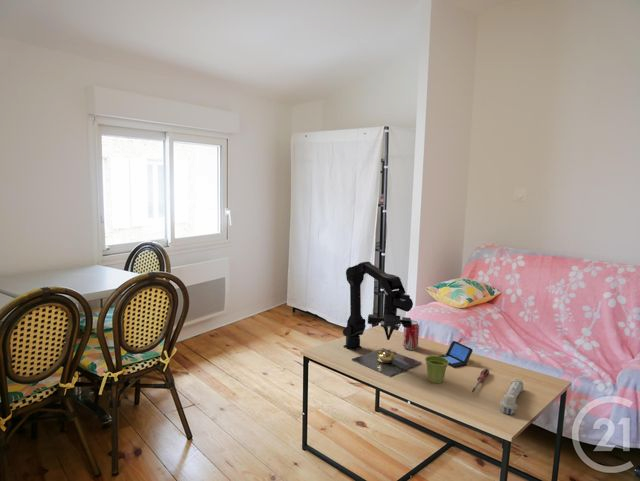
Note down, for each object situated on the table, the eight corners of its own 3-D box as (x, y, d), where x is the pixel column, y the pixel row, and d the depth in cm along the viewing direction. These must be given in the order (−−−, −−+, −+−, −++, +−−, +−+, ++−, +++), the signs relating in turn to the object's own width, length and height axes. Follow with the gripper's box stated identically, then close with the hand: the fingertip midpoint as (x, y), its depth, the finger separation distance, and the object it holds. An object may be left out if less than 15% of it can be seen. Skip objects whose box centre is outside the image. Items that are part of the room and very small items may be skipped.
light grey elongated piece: (525, 380, 173) (516, 396, 152) (524, 397, 173) (514, 416, 152) (511, 377, 176) (500, 392, 155) (509, 394, 176) (498, 411, 155)
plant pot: (448, 377, 183) (449, 357, 182) (446, 387, 174) (448, 366, 173) (425, 374, 186) (426, 354, 185) (422, 383, 177) (423, 362, 176)
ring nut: (373, 358, 199) (374, 350, 198) (386, 354, 203) (387, 347, 203) (401, 371, 185) (401, 363, 184) (414, 367, 189) (414, 359, 189)
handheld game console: (434, 358, 204) (435, 343, 203) (452, 355, 209) (453, 340, 208) (454, 369, 193) (455, 352, 192) (472, 365, 198) (473, 349, 197)
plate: (351, 360, 199) (351, 358, 198) (383, 349, 213) (383, 348, 213) (389, 376, 182) (390, 375, 182) (421, 363, 197) (421, 362, 197)
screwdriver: (476, 397, 167) (476, 389, 167) (468, 394, 169) (468, 387, 168) (490, 374, 188) (490, 367, 188) (483, 372, 189) (483, 366, 189)
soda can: (416, 345, 219) (418, 320, 218) (418, 351, 212) (420, 324, 210) (402, 344, 220) (403, 319, 218) (403, 350, 213) (405, 323, 211)
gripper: (367, 308, 185) (365, 344, 187) (413, 312, 182) (410, 348, 184) (369, 301, 196) (367, 335, 198) (412, 305, 193) (409, 339, 195)
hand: (388, 339), depth 193 cm, fingers closed
